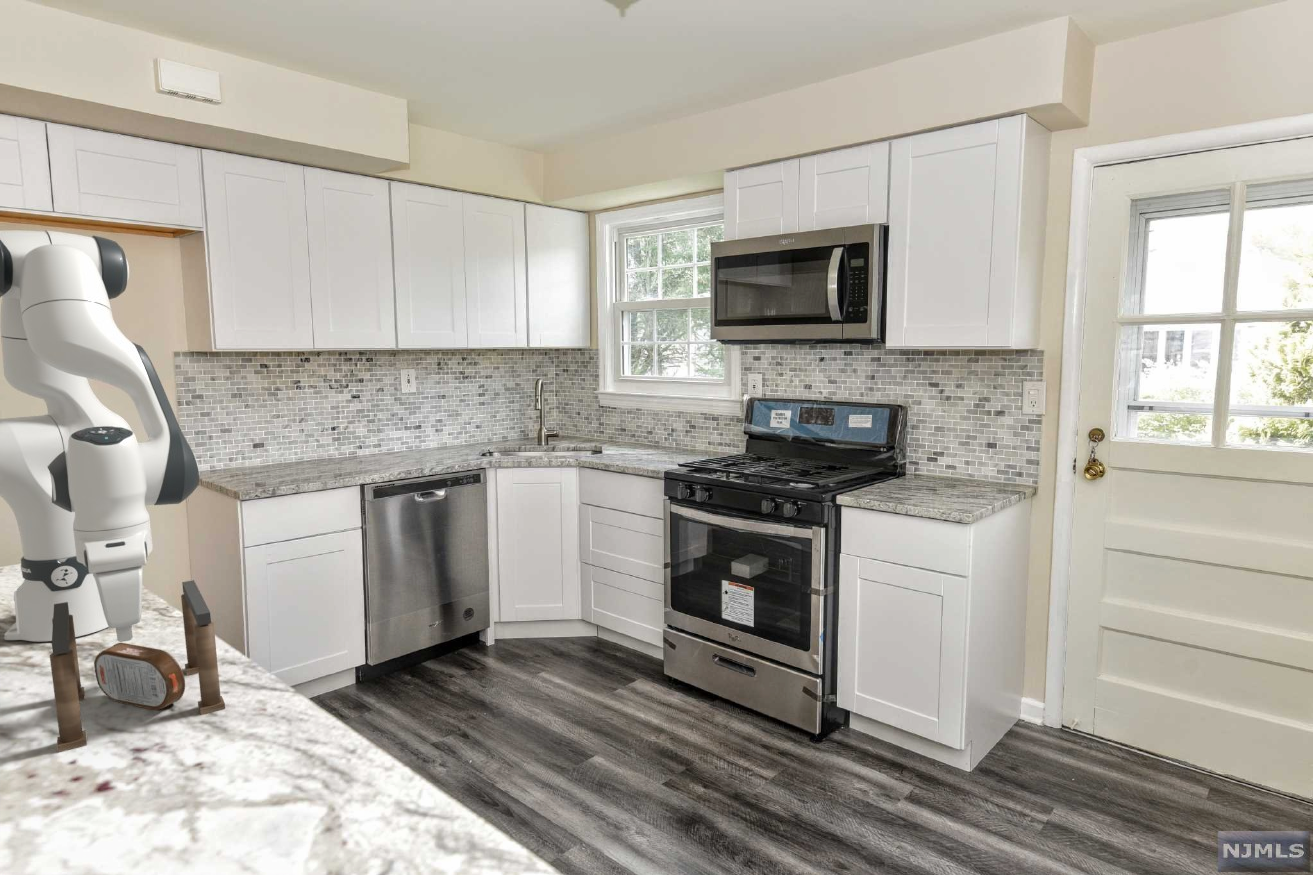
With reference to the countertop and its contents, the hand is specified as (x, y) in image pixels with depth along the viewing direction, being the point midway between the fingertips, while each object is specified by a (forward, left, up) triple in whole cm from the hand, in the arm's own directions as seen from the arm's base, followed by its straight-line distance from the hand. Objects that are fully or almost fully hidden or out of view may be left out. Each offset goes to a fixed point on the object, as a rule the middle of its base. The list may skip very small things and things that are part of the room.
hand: (124, 638), depth 111 cm
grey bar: (0, -7, +3) cm, 7 cm away
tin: (0, +1, -10) cm, 10 cm away
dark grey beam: (0, +9, +3) cm, 9 cm away
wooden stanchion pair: (0, +1, -10) cm, 10 cm away
